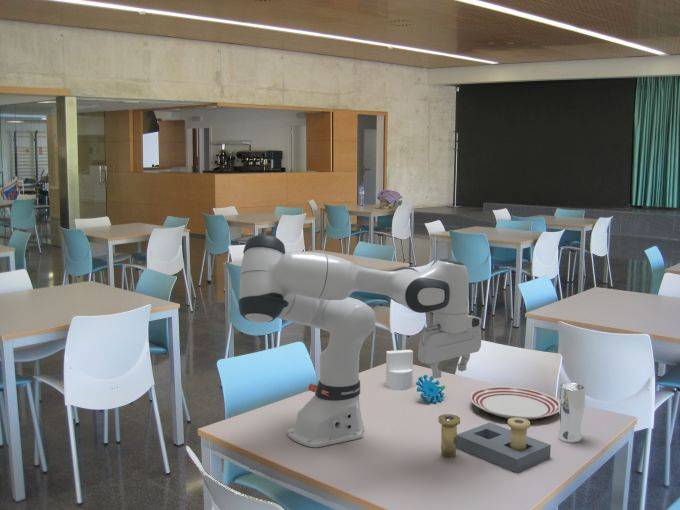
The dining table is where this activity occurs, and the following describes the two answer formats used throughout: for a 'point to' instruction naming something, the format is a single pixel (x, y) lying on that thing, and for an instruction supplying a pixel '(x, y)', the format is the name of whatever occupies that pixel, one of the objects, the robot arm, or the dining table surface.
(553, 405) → the dinner plate
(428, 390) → the gear
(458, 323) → the robot arm
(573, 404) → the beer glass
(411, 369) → the white toy chair
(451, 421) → the bushing
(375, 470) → the dining table surface
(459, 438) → the jig
